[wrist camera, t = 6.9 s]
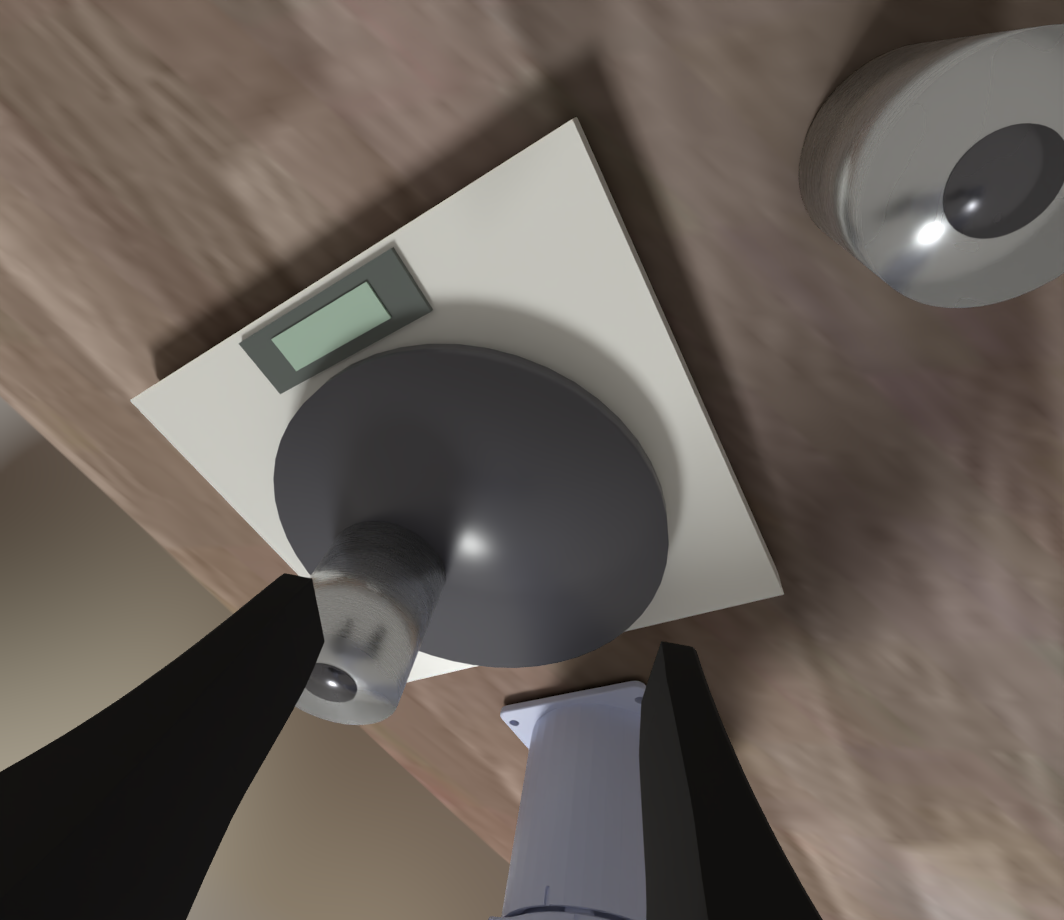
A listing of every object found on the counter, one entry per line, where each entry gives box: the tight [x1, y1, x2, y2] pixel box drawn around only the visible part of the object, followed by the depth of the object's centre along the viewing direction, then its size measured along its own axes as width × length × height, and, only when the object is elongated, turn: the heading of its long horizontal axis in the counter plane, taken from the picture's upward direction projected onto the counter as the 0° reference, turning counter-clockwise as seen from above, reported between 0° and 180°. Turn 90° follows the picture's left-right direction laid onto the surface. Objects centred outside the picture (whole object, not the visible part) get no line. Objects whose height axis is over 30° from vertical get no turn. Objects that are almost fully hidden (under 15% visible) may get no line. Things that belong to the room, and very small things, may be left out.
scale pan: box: [273, 344, 669, 668], centre depth 20 cm, size 14×14×1 cm
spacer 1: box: [295, 521, 445, 725], centre depth 19 cm, size 4×4×5 cm
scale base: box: [130, 117, 784, 682], centre depth 21 cm, size 17×18×2 cm
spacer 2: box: [799, 24, 1064, 308], centre depth 12 cm, size 4×4×5 cm
